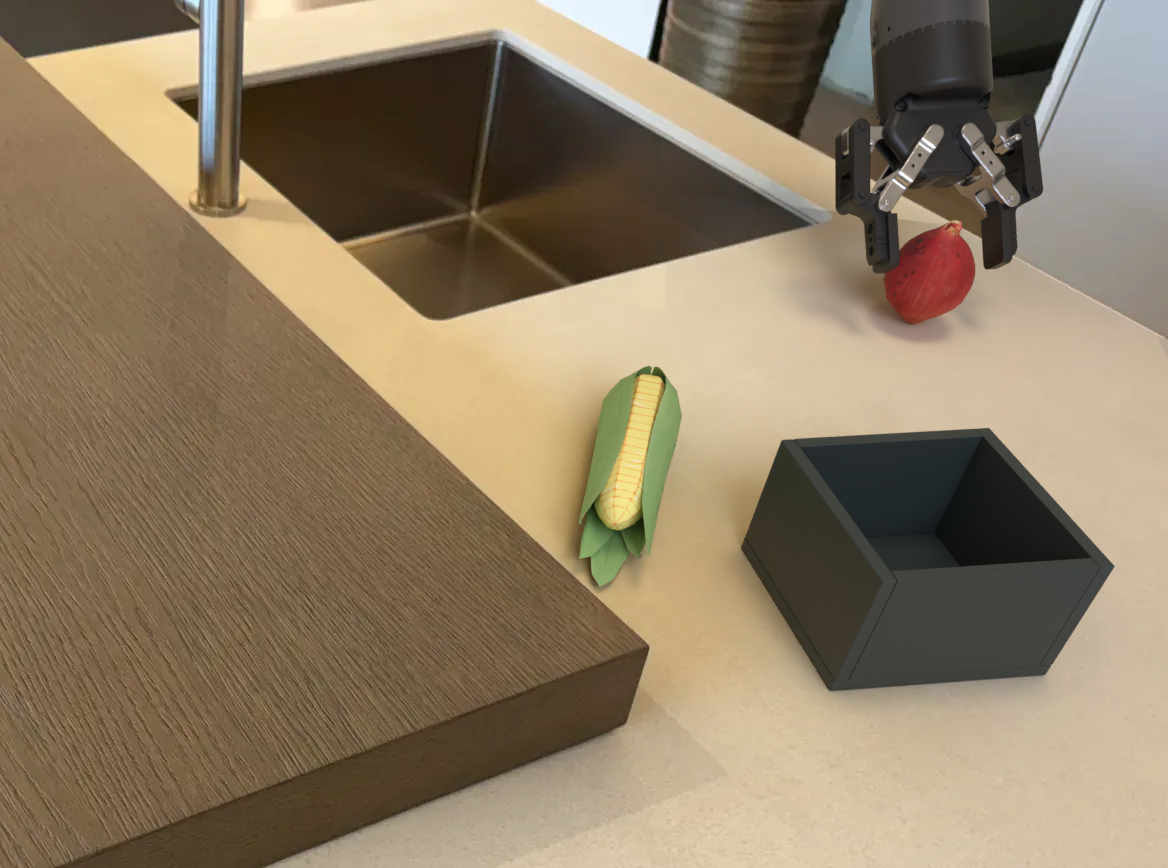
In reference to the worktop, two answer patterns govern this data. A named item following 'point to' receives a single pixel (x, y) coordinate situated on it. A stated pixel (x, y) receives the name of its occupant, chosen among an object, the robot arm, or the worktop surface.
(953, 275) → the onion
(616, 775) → the worktop surface
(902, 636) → the trash bin
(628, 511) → the edible corn
